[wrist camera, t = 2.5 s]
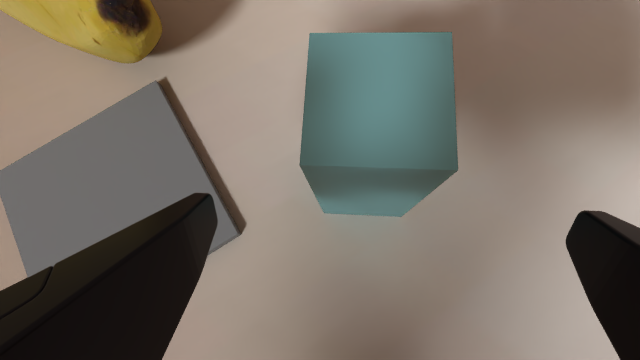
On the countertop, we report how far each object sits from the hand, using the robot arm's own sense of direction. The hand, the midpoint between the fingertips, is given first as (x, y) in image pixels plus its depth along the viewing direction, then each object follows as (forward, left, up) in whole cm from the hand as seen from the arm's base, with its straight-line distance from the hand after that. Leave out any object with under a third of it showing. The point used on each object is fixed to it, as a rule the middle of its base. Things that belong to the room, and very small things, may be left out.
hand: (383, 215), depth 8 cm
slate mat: (+10, +12, -11) cm, 19 cm away
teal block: (+3, -2, -11) cm, 11 cm away
